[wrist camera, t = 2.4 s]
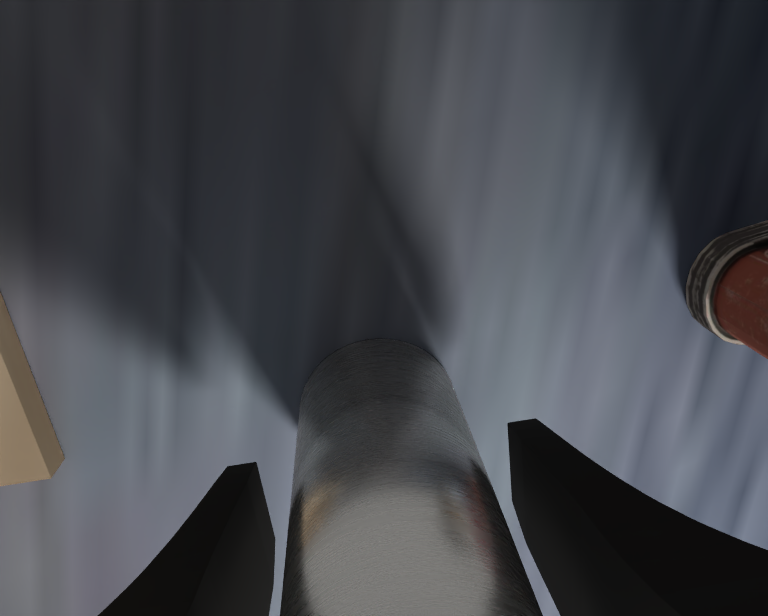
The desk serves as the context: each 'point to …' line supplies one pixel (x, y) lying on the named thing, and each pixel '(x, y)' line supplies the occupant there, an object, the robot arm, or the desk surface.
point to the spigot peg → (394, 497)
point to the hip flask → (733, 287)
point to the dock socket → (22, 416)
